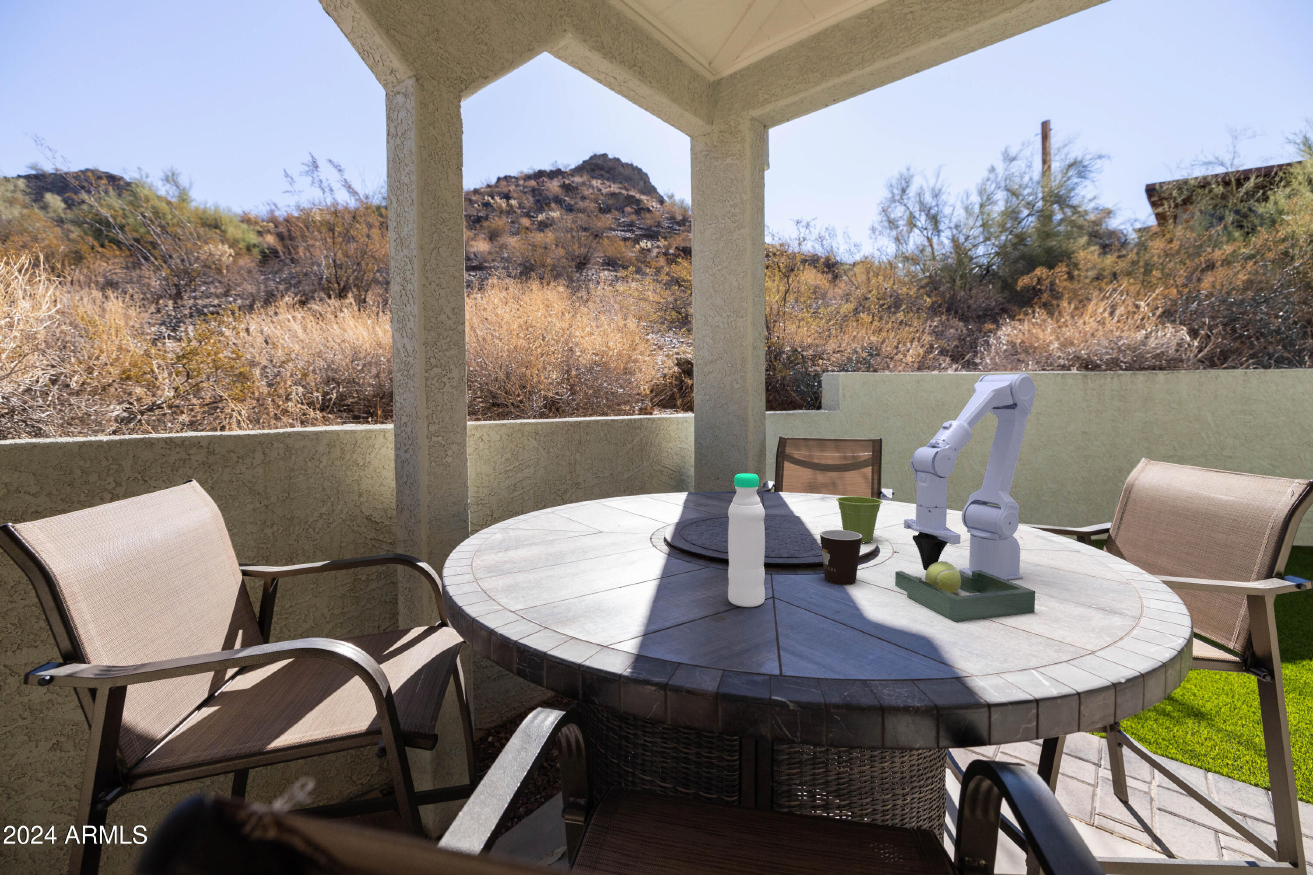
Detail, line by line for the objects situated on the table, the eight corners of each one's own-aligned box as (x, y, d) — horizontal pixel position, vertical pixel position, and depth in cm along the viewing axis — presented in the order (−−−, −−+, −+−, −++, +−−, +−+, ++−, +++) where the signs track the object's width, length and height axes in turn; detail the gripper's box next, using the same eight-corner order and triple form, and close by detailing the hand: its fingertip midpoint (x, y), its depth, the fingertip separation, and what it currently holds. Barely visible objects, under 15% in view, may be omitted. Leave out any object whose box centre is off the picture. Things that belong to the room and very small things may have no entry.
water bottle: (767, 597, 116) (767, 472, 114) (761, 609, 109) (762, 477, 107) (732, 593, 118) (732, 471, 116) (724, 605, 112) (724, 476, 110)
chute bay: (956, 579, 126) (956, 561, 125) (1034, 612, 107) (1035, 590, 106) (886, 586, 122) (887, 567, 121) (955, 621, 103) (955, 599, 102)
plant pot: (888, 546, 153) (889, 503, 152) (843, 546, 153) (843, 504, 152) (872, 535, 164) (873, 495, 164) (830, 535, 165) (830, 495, 164)
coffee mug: (864, 587, 121) (864, 540, 120) (820, 585, 122) (821, 538, 122) (856, 570, 132) (857, 527, 131) (817, 568, 134) (817, 526, 133)
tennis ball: (966, 564, 114) (947, 554, 121) (934, 570, 114) (916, 560, 120) (970, 595, 115) (950, 584, 121) (937, 601, 114) (919, 589, 121)
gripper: (892, 500, 126) (890, 561, 127) (939, 513, 112) (937, 582, 113) (920, 498, 128) (919, 559, 129) (970, 511, 114) (968, 579, 115)
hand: (929, 569), depth 121 cm, fingers closed
